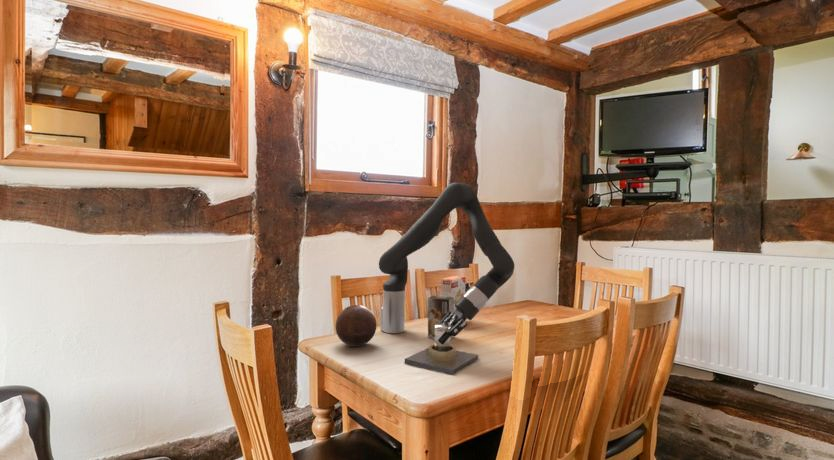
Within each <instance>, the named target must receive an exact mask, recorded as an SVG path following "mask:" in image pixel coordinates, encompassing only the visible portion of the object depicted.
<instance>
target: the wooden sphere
mask: <svg viewBox="0 0 834 460" xmlns="http://www.w3.org/2000/svg"><path fill="white" fill-rule="evenodd" d="M376 331H377V320H376V317H375V314H374V313H373V311H372V310H370V309H369V308H368V307H366V306H364V305H361V304H351V305H349V306H347V307H345V308H344V309H342V310H341V311H340V312H339V314H338V316H337V317H336V320H335V332H336V333H335V334H336V335H337V337H338V339H339V340H340V341H341V342H342V343H343V344H345V345H347V346H350V347H361V346H364V345H366V344H368V343H369V342H370V341H371V340H372V339H373V337H374V336H375V334H376Z"/></svg>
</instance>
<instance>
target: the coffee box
mask: <svg viewBox="0 0 834 460" xmlns="http://www.w3.org/2000/svg"><path fill="white" fill-rule="evenodd" d="M427 298H428V299H427V338H428V339H434V340H435V338H434V337H433V334H434V333H435V324H439V323H440V322H441V320H442V319H443V318H444V317H445V315H446V314H447V313H448V312H449V311H450V312H451V313H453V297H444V296H441V295H431V296H430V297H427ZM453 338H454V336H452V337H451V336H450V340H452V339H453Z"/></svg>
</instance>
